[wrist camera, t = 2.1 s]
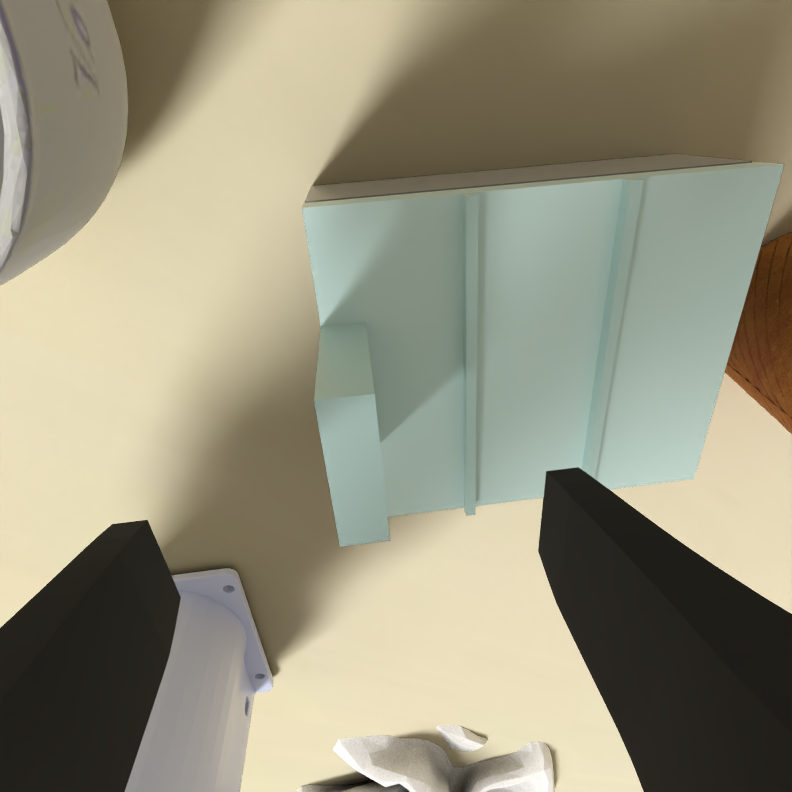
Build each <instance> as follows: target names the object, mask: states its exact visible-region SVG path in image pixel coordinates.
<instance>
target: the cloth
mask: <svg viewBox="0 0 792 792" xmlns="http://www.w3.org/2000/svg"><path fill="white" fill-rule="evenodd" d="M436 729H437V730H438V731H439V732H440V733H441V735H442V736H443V738H444V740H445V741H447V742H448V743H449V745H450V749H455V750H460V751H467V752H469V751H474V750H478V749H479V748H481V747H482V746H484V745H485V743H486V742H487V740H488V739H486V738H483V737H480V736H477V735H475V734H474V733H472V732H471V731H469V730H468V729H465V728H463V727H461V726H438V727H436ZM333 750H334V751H335V752H336V753H337V754H338V755H339V756H340V757H341V758H342V759H343V760H345V761H346V762H347V763H348V764H349V765H350V766H352V767H353V768H354V769H355V770H356V771H358V772H360V773H362V774H363V775H365V776H367V777H369V778H370V779H372V781H369V782H364V783H358V784H352V785H337V786H321V785H305V786H301V787H299V788H298V789H296V791H295V792H555V787H554V772H553V763H552V757H551V753H550V749H549V748H548V747H547V745H546V744H545V743H544V742H539V741H537V742H530V743H529V744H527V745H526V746H524V747H523V748H521V749H520V750H518V751H517V752H514V753H511V754H509V755H506V756H502V757H498V758H494V759H490V760H485V761H480V762H477V763H474V764H471V765H468V766H466V767H454V766H453V765H452V764H451V762H450V761H449V758H448V756H447V753H446V752H445V751H444V750H443V749H442V747H440V746H438V745H436V744H434V743H433V742H431V741H429V740H424V739H418V738H398V737H394V736H389V735H380V736H367V737H356V738H343V739H339V740H338V742H337V744H336V745H335V747H334V748H333Z"/></svg>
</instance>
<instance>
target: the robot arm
mask: <svg viewBox="0 0 792 792" xmlns="http://www.w3.org/2000/svg"><path fill="white" fill-rule="evenodd" d="M538 551H539V554H540V557H541V560H542V563H543V566H544V569H545V572H546V575H547V578H548V581H549V584H550V586H551V589H552V592H553V595H554V597H555V600H556V603H557V605H558V607H559V609H560V611H561V614H562V616H563V618H564V620H565V622H566V624H567V626H568V628H569V630H570V632H571V634H572V636H573V639H574V641H575V643H576V645H577V647H578V649H579V651H580V653H581V655H582V657H583V659H584V661H585V663H586V665H587V667H588V669H589V671H590V673H591V675H592V678H593V680H594V682H595V684H596V686H597V688H598V690H599V692H600V694H601V696H602V698H603V700H604V702H605V704H606V706H607V708H608V710H609V712H610V714H611V716H612V718H613V720H614V723H615V725H616V727H617V729H618V731H619V733H620V735H621V738H622V740H623V742H624V744H625V747H626V749H627V751H628V753H629V756H630V758H631V760H632V763H633V765H634V768H635V770H636V773H637V775H638V778H639V780H640V783H641V786H642V788H643V791H644V792H792V614H791V613H789V612H787V611H786V610H784V609H782V608H781V607H779V606H777V605H776V604H774V603H772V602H771V601H769V600H768V599H766V598H764V597H763V596H761V595H759V594H758V593H756V592H755V591H753V590H752V589H750V588H749V587H747V586H745V585H744V584H742V583H741V582H739V581H738V580H736V579H735V578H733V577H732V576H730V575H728V574H727V573H725V572H724V571H722V570H721V569H719V568H718V567H716V566H715V565H713V564H712V563H710V562H709V561H707V560H706V559H704V558H703V557H701V556H700V555H698V554H697V553H696V552H694V551H693V550H691V549H690V548H688V547H687V546H685V545H684V544H683V543H681V542H680V541H678V540H677V539H675V538H674V537H673V536H671V535H670V534H668V533H667V532H666V531H664V530H663V529H661V528H660V527H659V526H657V525H656V524H655V523H653V522H652V521H651V520H649V519H648V518H646V517H645V516H644V515H642V514H641V513H640V512H638V511H637V510H636V509H634V508H633V507H632V506H630V505H629V504H628V503H626V502H625V501H624V500H622V499H621V498H620V497H618V496H617V495H616V494H614V493H613V492H612V491H610V490H609V489H608V488H606V487H605V486H604V485H602V484H601V483H600V482H598V481H597V480H596V479H594V478H593V477H592V476H590V475H589V474H587V473H586V472H585V471H583V470H582V469H580V468H579V467H576V468H568V469H560V470H552V471H546V478H545V489H544V499H543V509H542V519H541V529H540V539H539V550H538ZM228 585H231V586H228ZM272 687H273V677H272V674H271V671H270V668H269V665H268V662H267V659H266V656H265V653H264V650H263V647H262V644H261V641H260V638H259V635H258V632H257V629H256V626H255V623H254V620H253V617H252V614H251V611H250V608H249V605H248V602H247V599H246V596H245V593H244V590H243V587H242V584H241V581H240V578H239V575H238V573H237V572H236V571H235V570H233V569H230V568H225V569H217V570H209V571H201V572H193V573H185V574H178V575H171V573H170V571H169V569H168V567H167V564H166V562H165V560H164V557H163V555H162V553H161V550H160V548H159V546H158V543H157V541H156V539H155V536H154V534H153V532H152V530H151V527H150V525H149V523H148V520H143V521H135V522H127V523H119V524H112V525H111V526H110V527H109V528H107V529H106V530H105V531H104V532H103V533H102V534H100V535H99V536H98V537H97V538H96V539H95V540H94V541H93V542H92V543H91V544H90V545H88V546H87V547H86V548H85V549H84V550H83V551H82V552H81V553H80V554H79V555H78V556H77V557H76V558H75V559H73V560H72V561H71V562H70V563H69V564H68V565H67V566H66V567H65V568H64V569H63V570H62V571H61V572H60V573H59V574H58V575H57V576H56V577H54V578H53V579H52V580H51V581H50V582H49V583H48V584H47V585H46V586H45V587H44V588H43V589H42V590H41V591H40V592H39V593H37V594H36V595H35V596H34V597H33V598H32V599H31V600H30V601H29V602H28V603H27V604H26V605H25V606H24V607H22V608H21V609H20V610H19V611H18V612H17V613H16V614H15V615H14V616H13V617H12V618H11V619H10V620H9V621H7V622H6V623H5V624H4V625H3V626H2V627H1V628H0V792H240V788H241V781H242V774H243V768H244V761H245V754H246V747H247V741H248V734H249V727H250V720H251V714H252V707H253V700H254V693H261V692H267V691H269V690H271V689H272Z"/></svg>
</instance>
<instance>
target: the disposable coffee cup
mask: <svg viewBox="0 0 792 792" xmlns="http://www.w3.org/2000/svg"><path fill="white" fill-rule="evenodd" d="M725 373H726V374H728V375H729V376H730V377H731V378H732V379H733V380H734V381H735V382H736V383H737V384H738V385H740V386H741V387H742V388H743V389H744V390H745V391H746V392H747V393H748V394H749V395H750V396H751V397H752V398H754V399H755V400H756V401H757V402H758V403H759V404H760V405H761V406H762V407H763V408H765V409H766V410H767V411H768V412H769V413H770V414H771V415H772V416H773V417H774V418H776V419H777V420H778V421H779V422H780V423H781V424H782V425H783V426H784V427H785V428H786V429H787V430H788V431H789V432H790V433H791V434H792V232H791V233H788V234H786V235H784V236H782V237H779V238H777V239H775V240H773V241H771V242H770V243H768V244H767V245H765V246H764V247H762V248H761V249H760V251H759V254H758V258H757V261H756V264H755V268H754V271H753V275H752V278H751V282H750V285H749V289H748V292H747V296H746V299H745V303H744V306H743V310H742V313H741V316H740V320H739V323H738V327H737V330H736V334H735V337H734V341H733V344H732V348H731V351H730V355H729V358H728V362H727V365H726V368H725Z"/></svg>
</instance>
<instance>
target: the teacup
mask: <svg viewBox="0 0 792 792" xmlns="http://www.w3.org/2000/svg"><path fill="white" fill-rule="evenodd" d="M127 120H128V91H127V76H126V71H125V65H124V60H123V55H122V49H121V44H120V41H119V38H118V34H117V31H116V28H115V24H114V21H113V18H112V14H111V11H110V7H109V4H108V2H107V0H0V286H1V285H2V284H4V283H6V282H8V281H9V280H11V279H13V278H15V277H16V276H18V275H19V274H21V273H23V272H24V271H26V270H27V269H29V268H30V267H32V266H33V265H35V264H36V263H38V262H40V261H41V260H43V259H44V258H46V257H47V256H49V255H50V254H51V253H53V252H54V251H56V250H57V249H58V248H60V247H61V246H63V245H64V244H65V243H67V242H68V241H69V240H70V239H71V238H72V237H73V236H74V235H75V234H76V233H77V232H78V231H79V230H80V229H82V228H83V227H84V226H85V225H86V224H87V223H88V221H89V220H90V219H91V218H92V217H93V215H94V214H95V213H96V211H97V210H98V208H99V207H100V206H101V204H102V203H103V201H104V200H105V198H106V196H107V194H108V192H109V190H110V188H111V186H112V185H113V182H114V180H115V177H116V174H117V172H118V169H119V167H120V164H121V160H122V156H123V152H124V147H125V142H126V136H127Z"/></svg>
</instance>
